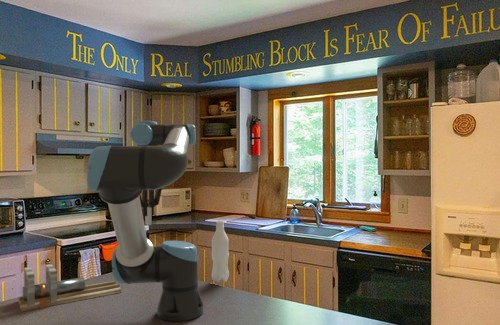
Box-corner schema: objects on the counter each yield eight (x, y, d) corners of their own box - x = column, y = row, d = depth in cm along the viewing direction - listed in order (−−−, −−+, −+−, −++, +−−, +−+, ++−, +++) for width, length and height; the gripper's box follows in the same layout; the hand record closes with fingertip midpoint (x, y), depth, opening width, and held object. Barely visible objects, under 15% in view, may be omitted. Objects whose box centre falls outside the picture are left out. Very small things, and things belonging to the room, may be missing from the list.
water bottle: (220, 277, 172) (219, 219, 172) (232, 280, 168) (232, 221, 167) (208, 281, 167) (207, 221, 166) (220, 285, 162) (220, 223, 162)
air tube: (82, 289, 154) (81, 275, 154) (85, 292, 150) (84, 278, 150) (22, 299, 143) (22, 285, 143) (23, 303, 139) (23, 288, 139)
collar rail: (121, 292, 154) (121, 262, 153) (21, 312, 135) (21, 277, 135) (112, 284, 164) (112, 255, 164) (18, 301, 145) (18, 268, 145)
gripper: (160, 161, 158) (161, 221, 158) (127, 162, 151) (128, 224, 151) (168, 162, 152) (168, 224, 152) (134, 162, 145) (134, 227, 145)
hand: (148, 224), depth 152 cm, fingers closed
